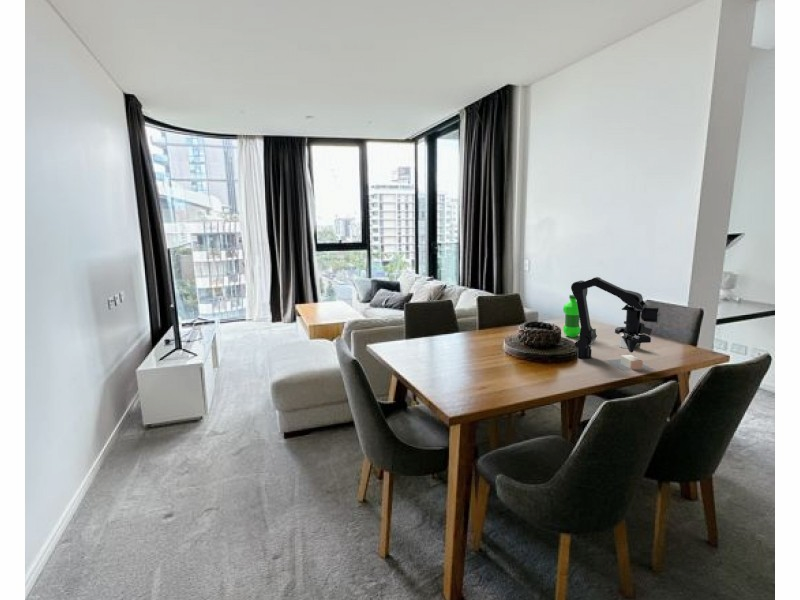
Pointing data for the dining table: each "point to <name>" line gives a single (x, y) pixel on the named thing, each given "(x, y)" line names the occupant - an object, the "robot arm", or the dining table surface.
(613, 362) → the gray mat
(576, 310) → the plastic bottle
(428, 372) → the dining table surface
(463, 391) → the dining table surface
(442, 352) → the dining table surface
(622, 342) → the medicine bottle
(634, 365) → the cream block
